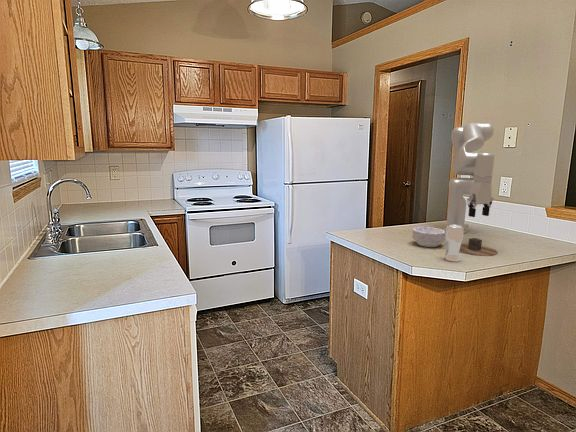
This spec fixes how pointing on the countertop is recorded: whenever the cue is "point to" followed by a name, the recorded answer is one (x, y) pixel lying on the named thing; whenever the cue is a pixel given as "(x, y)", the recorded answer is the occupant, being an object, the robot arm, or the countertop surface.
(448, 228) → the beer glass
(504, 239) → the countertop surface
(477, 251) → the walnut lid
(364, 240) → the countertop surface
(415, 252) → the countertop surface
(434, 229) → the paper bowls
